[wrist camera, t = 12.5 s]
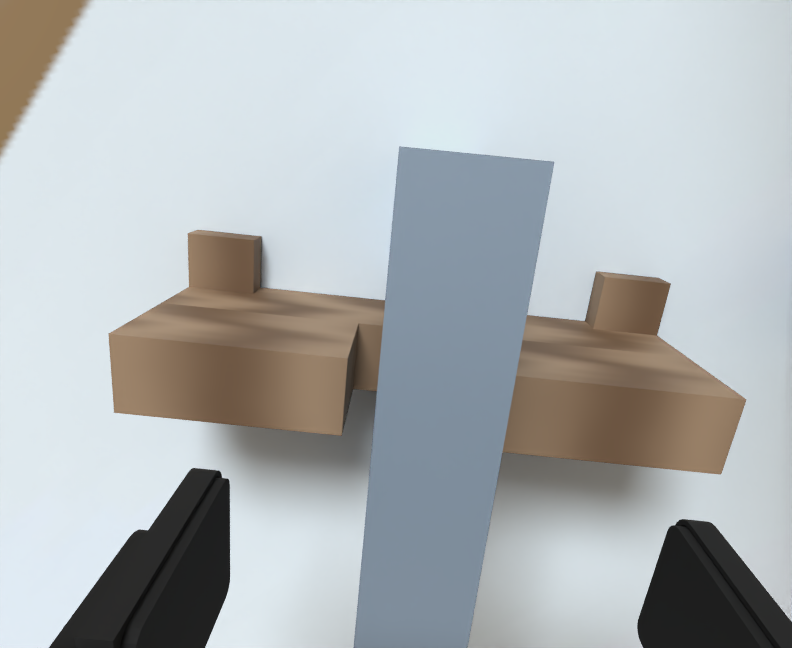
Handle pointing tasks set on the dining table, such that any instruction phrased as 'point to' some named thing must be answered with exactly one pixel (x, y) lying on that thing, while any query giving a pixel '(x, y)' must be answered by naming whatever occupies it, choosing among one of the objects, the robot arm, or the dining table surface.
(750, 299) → the dining table surface
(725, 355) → the dining table surface
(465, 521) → the slate grey plank
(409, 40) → the dining table surface
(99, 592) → the robot arm
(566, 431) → the slotted base board
